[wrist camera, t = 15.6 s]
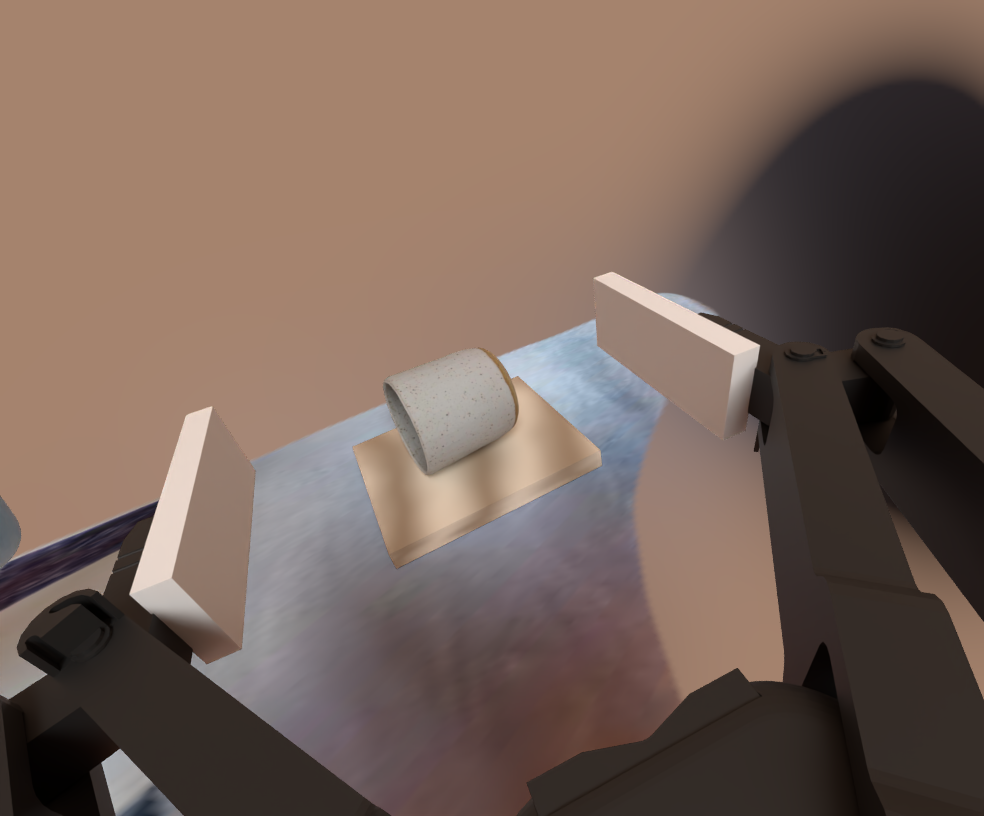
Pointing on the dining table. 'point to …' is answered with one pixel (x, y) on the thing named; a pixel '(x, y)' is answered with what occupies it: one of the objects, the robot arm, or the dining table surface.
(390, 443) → the birch board
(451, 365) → the ceramic mug
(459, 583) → the dining table surface
